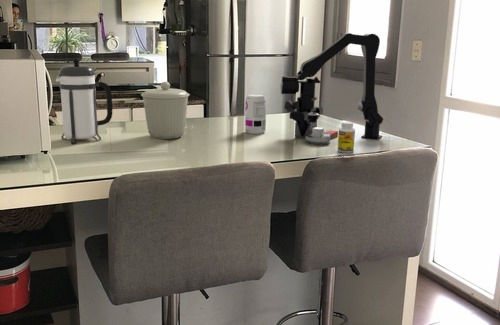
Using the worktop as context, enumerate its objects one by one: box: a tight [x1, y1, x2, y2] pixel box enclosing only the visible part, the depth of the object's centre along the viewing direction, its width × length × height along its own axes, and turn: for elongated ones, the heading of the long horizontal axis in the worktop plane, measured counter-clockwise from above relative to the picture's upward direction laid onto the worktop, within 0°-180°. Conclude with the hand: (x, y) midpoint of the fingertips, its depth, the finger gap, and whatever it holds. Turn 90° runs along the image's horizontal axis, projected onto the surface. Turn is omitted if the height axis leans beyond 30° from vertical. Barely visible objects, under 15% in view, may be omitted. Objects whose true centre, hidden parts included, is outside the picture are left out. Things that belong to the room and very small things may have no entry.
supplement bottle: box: [337, 121, 356, 154], centre depth 189 cm, size 6×6×10 cm
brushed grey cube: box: [294, 121, 318, 140], centre depth 213 cm, size 6×6×6 cm
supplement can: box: [244, 93, 267, 135], centre depth 220 cm, size 8×8×15 cm
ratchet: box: [304, 126, 339, 146], centre depth 208 cm, size 20×9×6 cm, turn 150°
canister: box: [140, 81, 191, 140], centre depth 208 cm, size 18×18×21 cm
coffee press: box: [55, 57, 113, 145], centre depth 200 cm, size 17×16×30 cm
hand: (305, 134), depth 214 cm, fingers closed on brushed grey cube, 6 cm apart
